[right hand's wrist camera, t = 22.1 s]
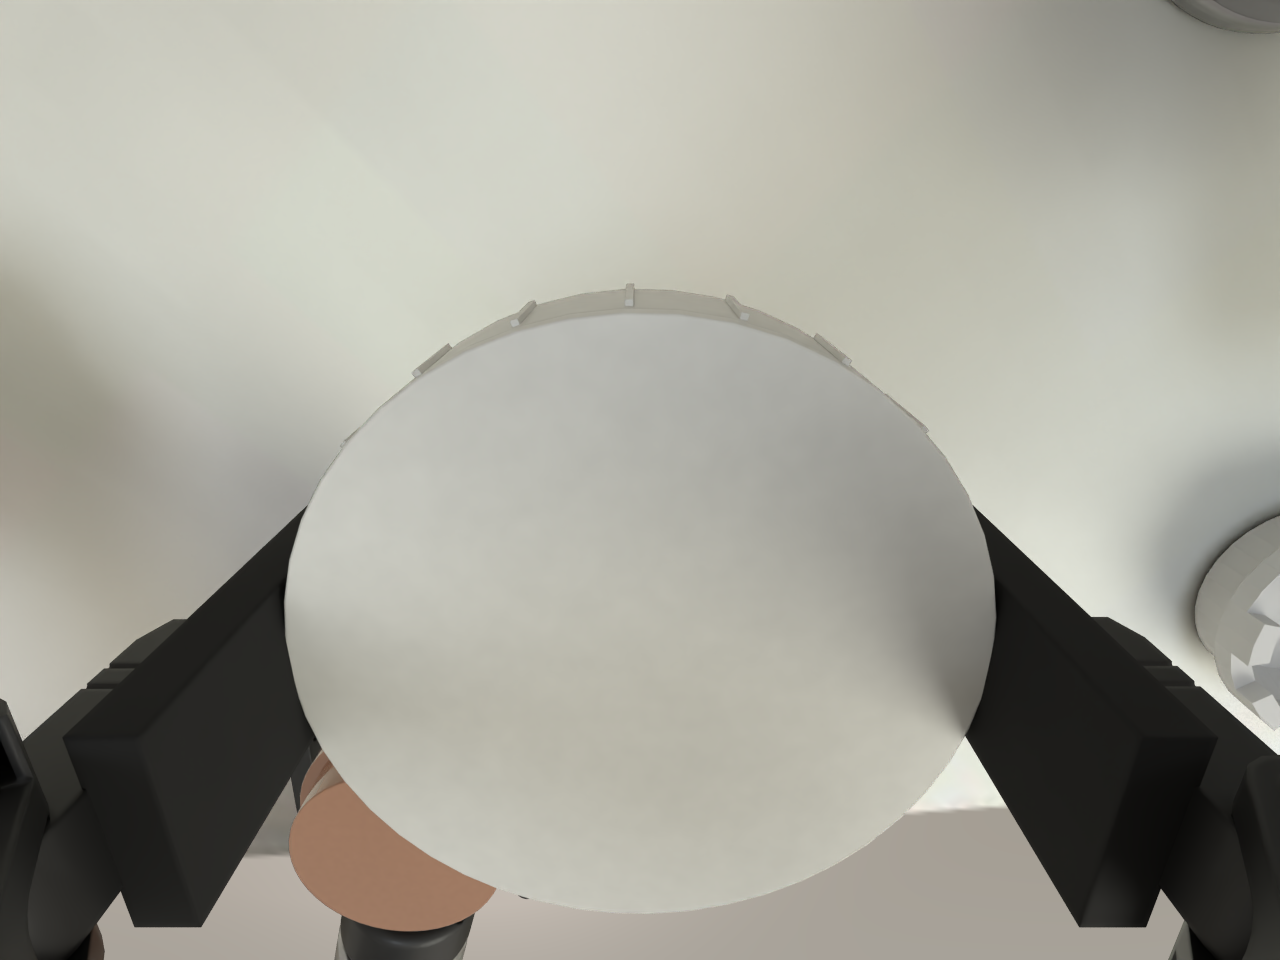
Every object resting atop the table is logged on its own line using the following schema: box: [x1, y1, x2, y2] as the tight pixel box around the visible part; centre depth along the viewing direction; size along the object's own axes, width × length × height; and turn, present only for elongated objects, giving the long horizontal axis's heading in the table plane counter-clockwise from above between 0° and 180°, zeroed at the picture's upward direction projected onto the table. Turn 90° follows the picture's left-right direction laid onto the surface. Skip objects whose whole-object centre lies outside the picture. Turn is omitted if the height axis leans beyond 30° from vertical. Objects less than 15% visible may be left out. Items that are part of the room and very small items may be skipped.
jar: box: [289, 748, 496, 931], centre depth 35 cm, size 9×9×17 cm
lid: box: [284, 284, 996, 914], centre depth 11 cm, size 10×10×2 cm
